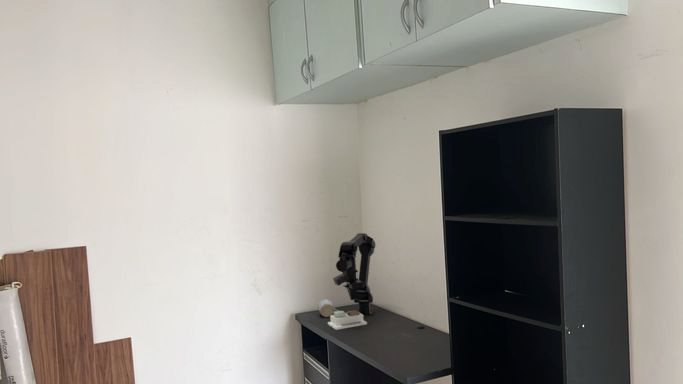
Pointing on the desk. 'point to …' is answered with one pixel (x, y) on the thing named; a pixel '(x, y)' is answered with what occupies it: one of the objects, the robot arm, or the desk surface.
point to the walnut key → (352, 313)
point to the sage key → (339, 314)
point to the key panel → (346, 321)
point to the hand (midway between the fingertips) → (352, 300)
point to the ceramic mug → (326, 308)
